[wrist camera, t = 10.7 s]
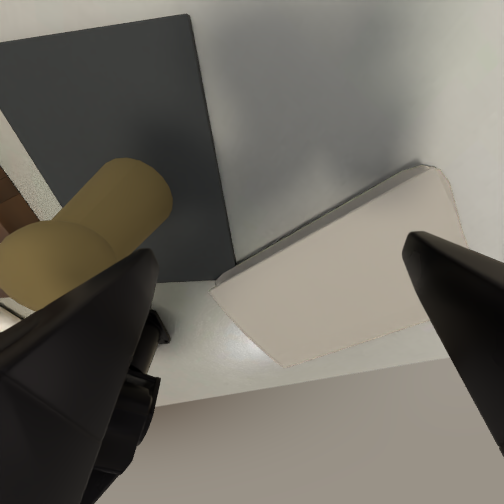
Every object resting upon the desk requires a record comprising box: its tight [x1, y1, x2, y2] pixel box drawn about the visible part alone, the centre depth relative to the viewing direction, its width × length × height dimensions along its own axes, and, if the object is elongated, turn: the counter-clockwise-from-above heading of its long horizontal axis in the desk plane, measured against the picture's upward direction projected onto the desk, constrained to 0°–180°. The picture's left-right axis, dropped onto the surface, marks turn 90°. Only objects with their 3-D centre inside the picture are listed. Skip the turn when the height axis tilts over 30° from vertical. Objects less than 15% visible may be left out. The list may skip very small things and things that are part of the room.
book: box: [208, 165, 469, 369], centre depth 24 cm, size 15×23×4 cm, turn 127°
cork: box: [0, 158, 173, 311], centre depth 16 cm, size 6×6×11 cm
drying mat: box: [0, 14, 236, 283], centre depth 20 cm, size 20×14×1 cm
